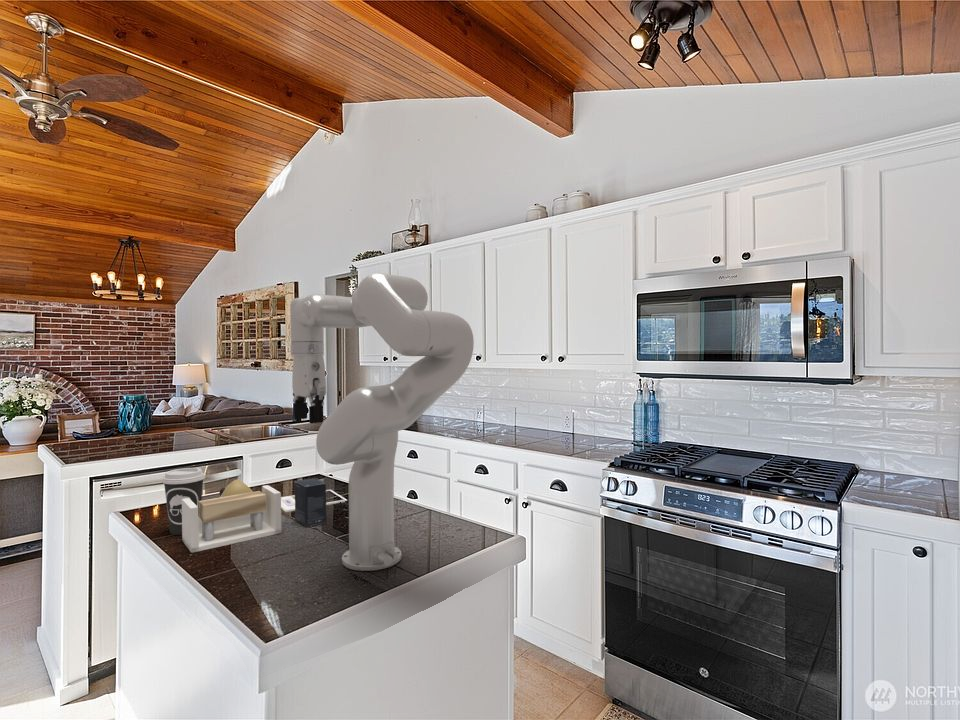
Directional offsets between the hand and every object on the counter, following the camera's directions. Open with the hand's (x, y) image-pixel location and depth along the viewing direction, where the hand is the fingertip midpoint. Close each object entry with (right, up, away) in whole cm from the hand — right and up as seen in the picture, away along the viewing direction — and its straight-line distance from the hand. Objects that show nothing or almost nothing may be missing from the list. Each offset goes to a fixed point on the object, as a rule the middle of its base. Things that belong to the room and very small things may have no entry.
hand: (308, 420), depth 127 cm
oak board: (-19, -23, +2) cm, 30 cm away
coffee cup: (-33, -29, +7) cm, 44 cm away
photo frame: (-10, -29, +32) cm, 44 cm away
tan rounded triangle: (-25, -28, +16) cm, 41 cm away
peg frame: (-19, -28, +2) cm, 34 cm away
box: (-4, -28, +13) cm, 31 cm away
